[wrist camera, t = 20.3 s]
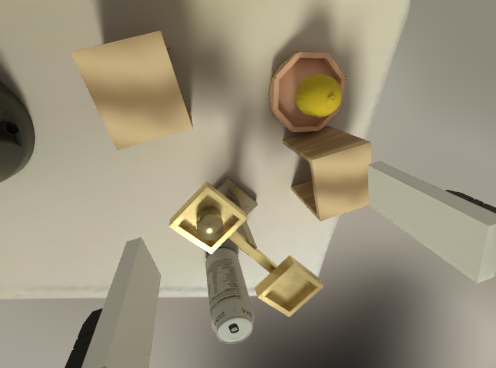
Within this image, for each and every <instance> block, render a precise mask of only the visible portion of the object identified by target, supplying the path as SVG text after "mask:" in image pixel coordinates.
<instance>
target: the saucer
mask: <svg viewBox="0 0 496 368" xmlns="http://www.w3.org/2000/svg"><path fill="white" fill-rule="evenodd" d="M316 74H323V75H328V76H330V77H332V78H333V79H335V80H336V81H337V82H338V84H339V85H340V87H341V91H342V98H341V102H340V104H339V106H338V108H337V109H336V110H335V111H334V112H333V113H332V114H330V115H328V116H325V117H321V118H313V117H310V116H307V115H305V114H304V113H302V112H301V110H300V109H299V108H298V106H297V104H296V99H295V98H296V91H297V88H298V86H299V84H300V83H301V82H302V81H303V80H304V79H306V78H307V77H309V76H312V75H316ZM344 78H345V76H344V74H343V73H342V71H341V70H340V68H339V67H338V65H337V64H336V63H335V61H334V60H333V58H332V57H331V55H330V54H328V53H321V52H296V53H294V54H293V55H292V56H291V57H289V58H288V59H286V60H285V61H284V62H283V63H282V64H281V65H280V66H279V67H278V68H277V70H276V71H275V73H274V75H273V77H272V80H271V83H270V87H269V103H270V107H271V111H272V112H273V114H274V116H275V117H276V118H277V120H278V121H279V122H281V123H282V124H283V125H285V126H286V127H287V128H288V129H289V130H290V131H292V132H308V131H319V130H321V129H322V128H323V127H324V126H325V125H326V124H327V123H328V122H329V121H330V120H331V119H332V118H333V117H334V116H335V115H336V114H337V113H338V112H339V111H340V109H341V108H342V101H343V94H344V87H345V80H346V79H344Z"/></svg>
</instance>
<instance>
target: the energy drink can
mask: <svg viewBox="0 0 496 368" xmlns="http://www.w3.org/2000/svg"><path fill="white" fill-rule="evenodd" d="M205 264H206V275H207V285H208V295H209V305H210V316H211V326H212V328H213V330H214V331H215V332H216V334H217V337H218V339H219V340H220V341H221V342H223V343H226V344H235V343H239V342H241V341H243V340H245V339H246V338H247V337H248V336H249V335H250V334H251V332H252V323H253V319H254V313H253V310H252V306H251V303H250V299H249V295H248V292H247V288H246V284H245V281H244V277H243V274H242V270H241V266H240V263H239V259H238V256H237V254H236V253H235V252H234V251H232V250H230V249H227V248H219V249H216V250H215V251H214V252H213V253H212V254H210V255H209V256H208V257H207V259H206V263H205Z"/></svg>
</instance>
